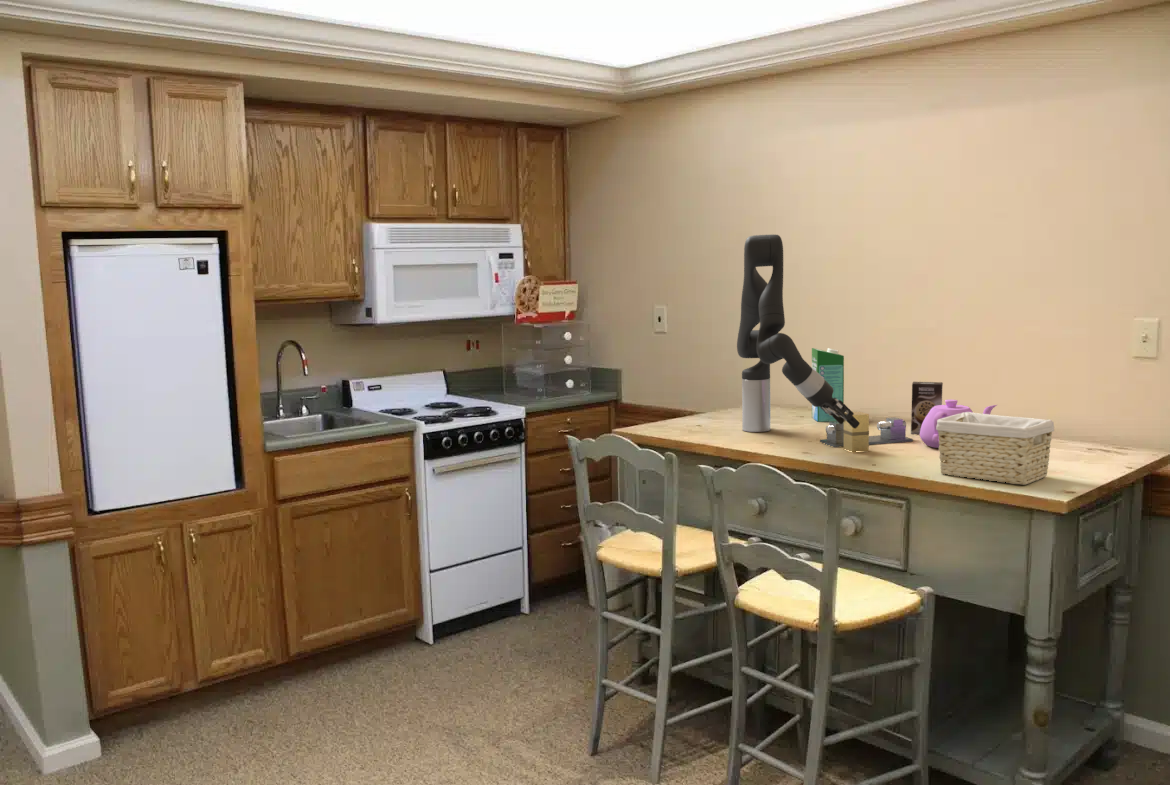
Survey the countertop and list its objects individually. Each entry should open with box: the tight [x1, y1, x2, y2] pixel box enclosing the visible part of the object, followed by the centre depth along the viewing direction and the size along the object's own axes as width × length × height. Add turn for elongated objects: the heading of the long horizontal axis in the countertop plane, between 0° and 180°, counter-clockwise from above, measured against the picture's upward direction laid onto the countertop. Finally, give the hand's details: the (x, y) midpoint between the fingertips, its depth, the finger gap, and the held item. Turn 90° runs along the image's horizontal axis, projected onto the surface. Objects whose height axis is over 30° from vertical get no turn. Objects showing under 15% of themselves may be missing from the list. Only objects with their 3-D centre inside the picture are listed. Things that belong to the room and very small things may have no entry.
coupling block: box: [843, 411, 870, 452], centre depth 278 cm, size 5×5×11 cm
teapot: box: [919, 399, 998, 449], centre depth 278 cm, size 22×22×14 cm
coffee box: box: [910, 381, 944, 435], centre depth 302 cm, size 9×6×16 cm
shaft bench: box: [819, 416, 914, 448], centre depth 291 cm, size 26×9×7 cm, turn 102°
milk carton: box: [811, 347, 845, 423], centre depth 332 cm, size 9×9×25 cm
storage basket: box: [936, 412, 1055, 486], centre depth 241 cm, size 24×16×15 cm
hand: (850, 423), depth 277 cm, fingers open, 8 cm apart
